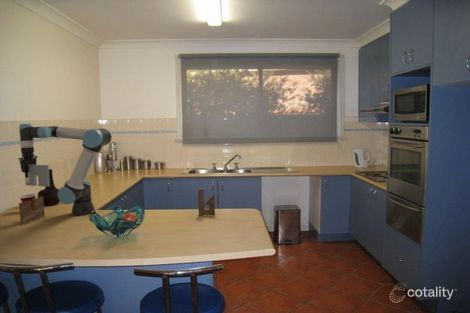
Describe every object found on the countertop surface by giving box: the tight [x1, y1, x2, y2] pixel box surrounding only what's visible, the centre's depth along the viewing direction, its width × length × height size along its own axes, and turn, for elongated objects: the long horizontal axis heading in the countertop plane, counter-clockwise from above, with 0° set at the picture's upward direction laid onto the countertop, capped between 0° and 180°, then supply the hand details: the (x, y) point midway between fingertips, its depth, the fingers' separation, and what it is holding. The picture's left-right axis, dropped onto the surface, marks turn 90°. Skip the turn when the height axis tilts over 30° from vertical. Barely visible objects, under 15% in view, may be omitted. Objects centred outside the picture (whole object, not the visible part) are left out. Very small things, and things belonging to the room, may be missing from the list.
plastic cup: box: [18, 193, 37, 210], centre depth 259 cm, size 11×11×12 cm
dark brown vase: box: [36, 168, 61, 206], centre depth 280 cm, size 18×18×28 cm
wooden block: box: [197, 187, 216, 217], centre depth 238 cm, size 4×11×18 cm, turn 98°
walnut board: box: [18, 197, 46, 225], centre depth 234 cm, size 2×18×14 cm, turn 167°
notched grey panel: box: [24, 164, 50, 188], centre depth 237 cm, size 18×2×14 cm, turn 74°
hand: (29, 181), depth 240 cm, fingers closed on notched grey panel, 2 cm apart
